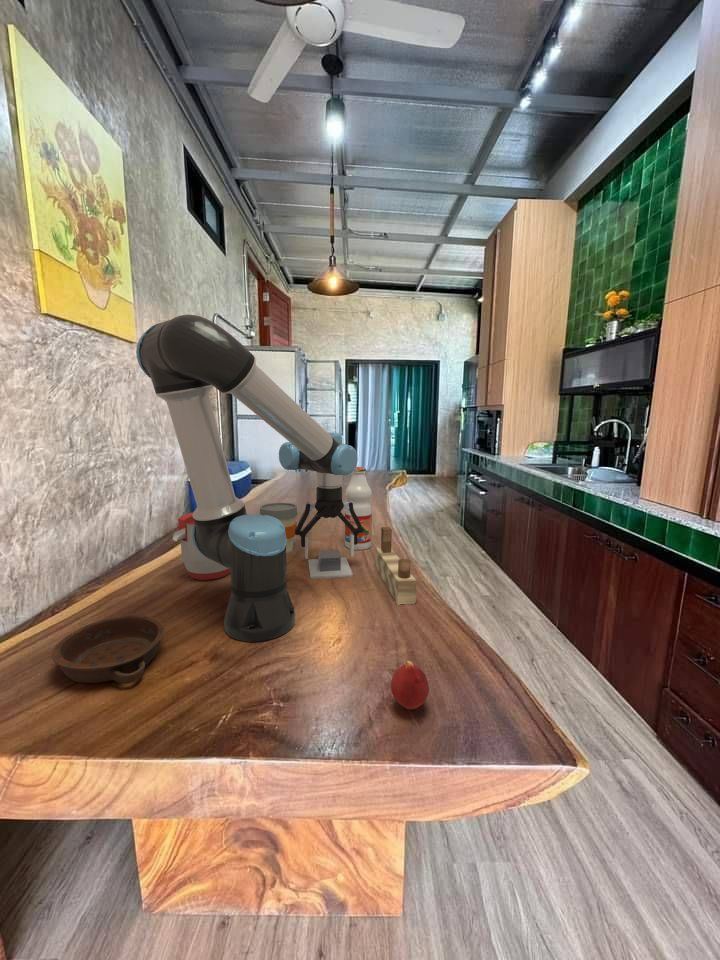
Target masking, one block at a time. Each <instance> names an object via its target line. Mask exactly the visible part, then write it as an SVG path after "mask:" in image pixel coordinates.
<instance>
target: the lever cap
mask: <svg viewBox="0 0 720 960" xmlns="http://www.w3.org/2000/svg"><path fill="white" fill-rule="evenodd" d="M317 555H318V558H317V559H318V563H319V568H320V572H322V571H340V570H341V558H342V557H341V554H340V552H339V549H325V550H324V549H323V550H320V549H319V550H318V554H317Z"/></svg>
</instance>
